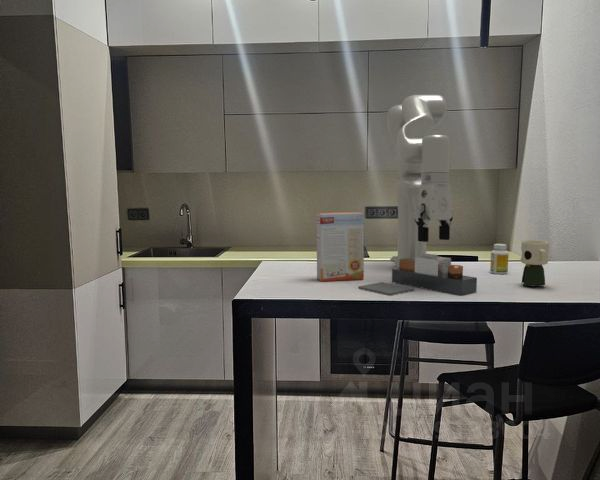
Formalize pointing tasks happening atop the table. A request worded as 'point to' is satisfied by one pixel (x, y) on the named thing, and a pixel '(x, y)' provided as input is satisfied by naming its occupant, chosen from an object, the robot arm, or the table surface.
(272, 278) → the table surface
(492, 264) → the supplement bottle
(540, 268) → the character mug
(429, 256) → the lever cap
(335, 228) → the cracker box
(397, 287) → the rubber mat
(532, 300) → the table surface
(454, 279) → the body
